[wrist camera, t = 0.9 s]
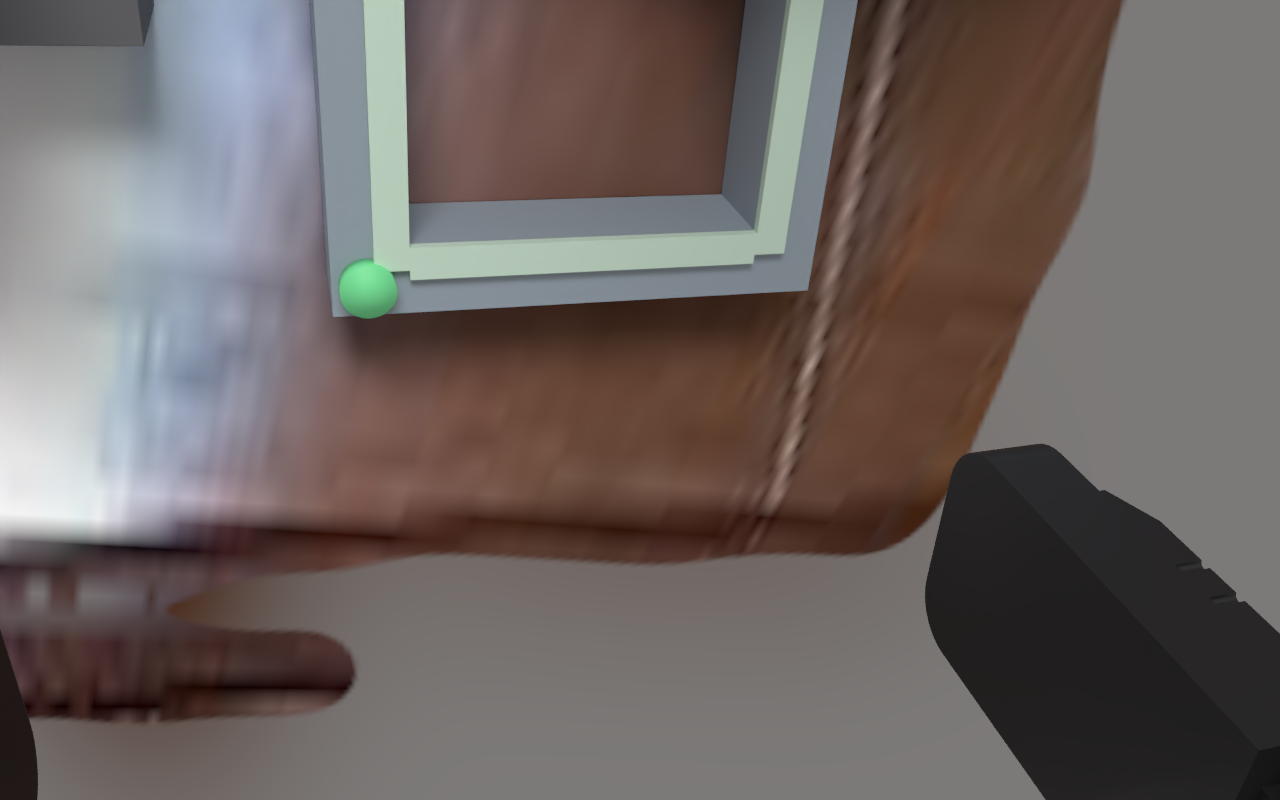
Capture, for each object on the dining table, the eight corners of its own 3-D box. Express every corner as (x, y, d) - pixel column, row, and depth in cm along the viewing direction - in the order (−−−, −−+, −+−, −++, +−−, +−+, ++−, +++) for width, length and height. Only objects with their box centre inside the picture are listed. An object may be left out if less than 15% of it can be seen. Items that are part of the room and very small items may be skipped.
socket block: (291, -287, 28) (297, -281, 25) (848, -240, 33) (908, -230, 30) (326, 273, 36) (334, 326, 33) (773, 252, 40) (815, 298, 37)
